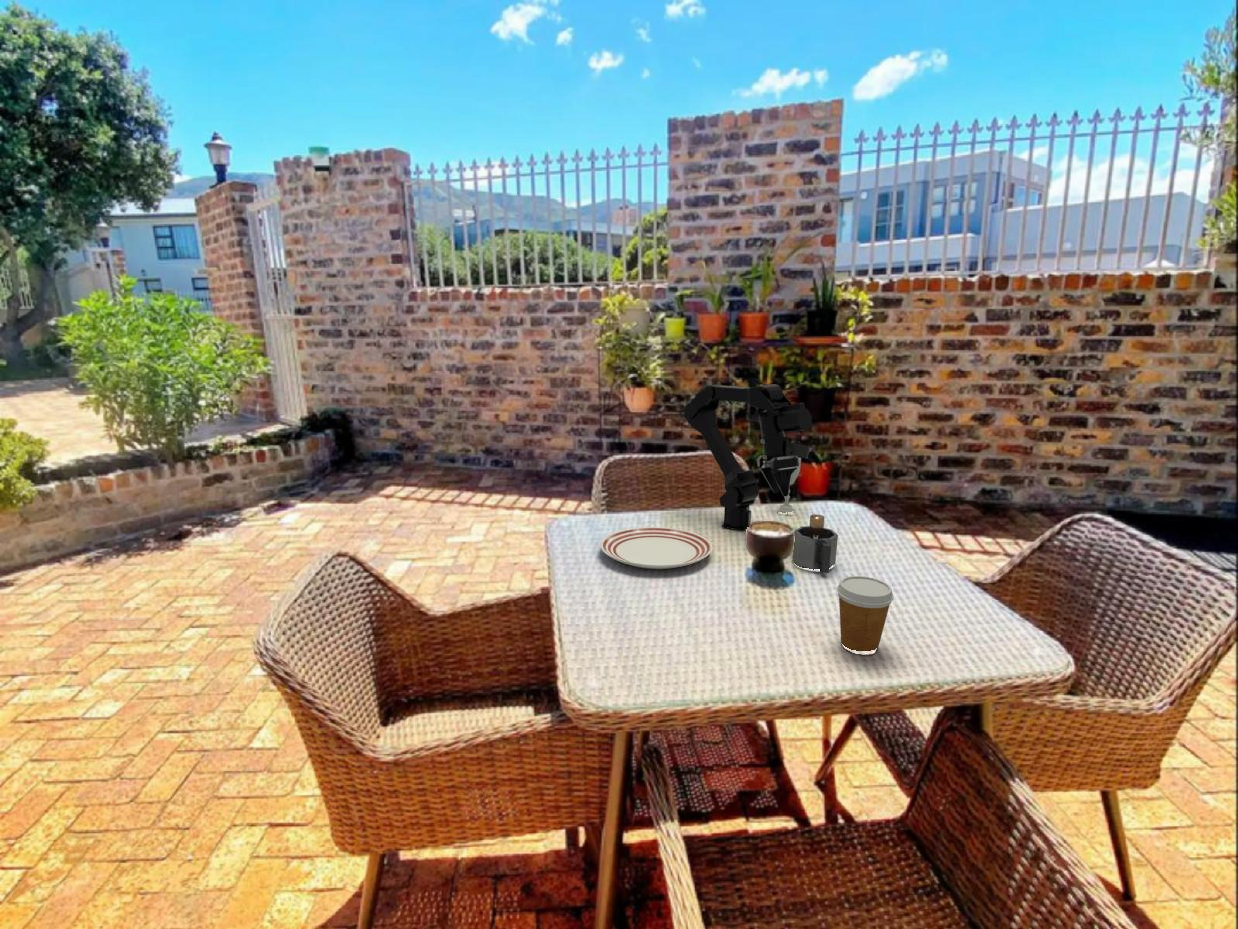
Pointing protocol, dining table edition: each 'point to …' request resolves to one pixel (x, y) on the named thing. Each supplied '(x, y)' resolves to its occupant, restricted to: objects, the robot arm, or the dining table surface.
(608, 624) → the dining table surface
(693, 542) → the dinner plate
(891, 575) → the dining table surface
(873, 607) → the disposable coffee cup
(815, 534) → the plunger
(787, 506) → the chalice
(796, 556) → the press carafe
